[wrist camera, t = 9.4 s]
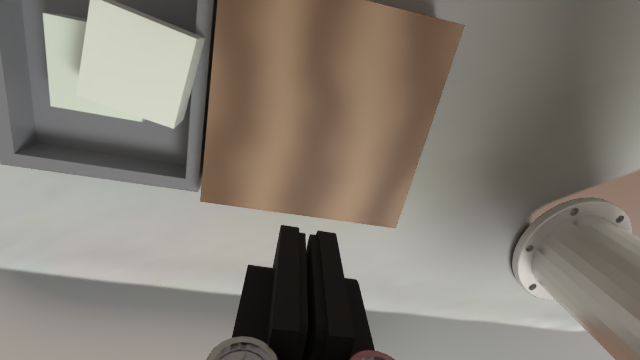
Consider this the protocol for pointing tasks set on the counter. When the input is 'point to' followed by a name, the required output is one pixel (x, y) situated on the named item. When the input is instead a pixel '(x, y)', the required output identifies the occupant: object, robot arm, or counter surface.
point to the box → (93, 129)
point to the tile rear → (70, 65)
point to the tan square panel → (322, 106)
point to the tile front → (137, 63)
